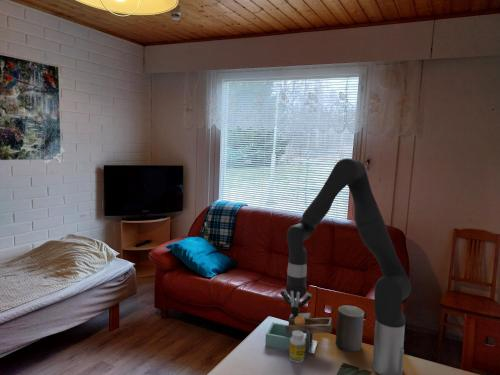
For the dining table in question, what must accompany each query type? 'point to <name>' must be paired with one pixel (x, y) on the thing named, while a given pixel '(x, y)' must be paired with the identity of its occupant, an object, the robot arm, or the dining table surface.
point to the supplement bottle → (297, 346)
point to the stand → (310, 344)
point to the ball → (299, 320)
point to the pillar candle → (349, 328)
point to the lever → (310, 324)
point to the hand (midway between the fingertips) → (294, 315)
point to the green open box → (278, 337)
